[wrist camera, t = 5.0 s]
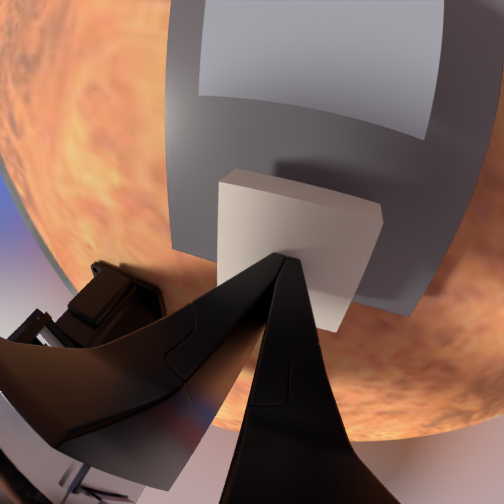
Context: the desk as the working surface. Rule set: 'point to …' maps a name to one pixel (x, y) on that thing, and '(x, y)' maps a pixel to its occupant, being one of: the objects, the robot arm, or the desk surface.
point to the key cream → (298, 235)
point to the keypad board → (341, 151)
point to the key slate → (327, 56)
